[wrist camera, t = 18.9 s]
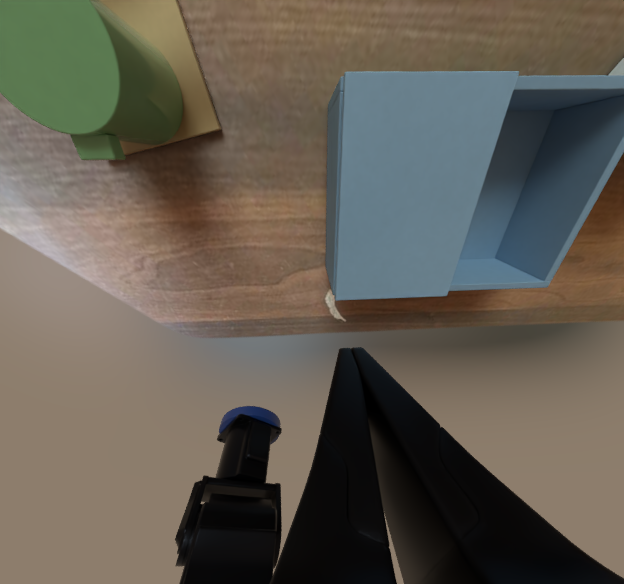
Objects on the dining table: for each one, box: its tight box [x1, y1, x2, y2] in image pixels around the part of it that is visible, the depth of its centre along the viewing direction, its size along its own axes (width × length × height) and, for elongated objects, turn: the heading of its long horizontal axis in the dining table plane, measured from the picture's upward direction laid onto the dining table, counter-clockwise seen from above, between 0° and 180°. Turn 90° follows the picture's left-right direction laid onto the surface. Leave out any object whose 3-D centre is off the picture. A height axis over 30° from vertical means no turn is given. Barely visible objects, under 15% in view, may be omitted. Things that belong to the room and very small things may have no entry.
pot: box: [0, 0, 183, 161], centre depth 11 cm, size 7×5×6 cm
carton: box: [326, 75, 624, 295], centre depth 15 cm, size 15×11×5 cm
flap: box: [335, 71, 519, 300], centre depth 12 cm, size 7×11×1 cm
